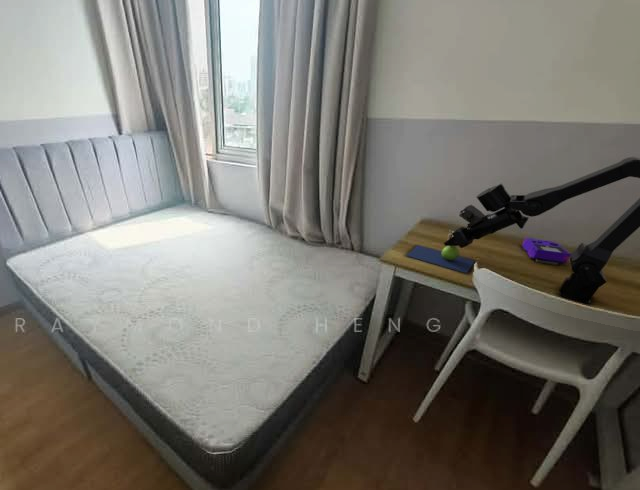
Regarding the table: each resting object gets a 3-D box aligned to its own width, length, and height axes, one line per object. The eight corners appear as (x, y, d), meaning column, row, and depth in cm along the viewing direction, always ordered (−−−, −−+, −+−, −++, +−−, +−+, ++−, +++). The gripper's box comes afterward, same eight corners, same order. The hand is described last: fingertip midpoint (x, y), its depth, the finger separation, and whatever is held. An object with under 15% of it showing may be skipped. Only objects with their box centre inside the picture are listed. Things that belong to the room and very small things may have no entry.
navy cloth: (474, 261, 113) (475, 260, 113) (466, 273, 106) (466, 272, 106) (417, 245, 125) (417, 245, 125) (406, 256, 118) (406, 255, 118)
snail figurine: (433, 258, 116) (443, 228, 109) (447, 255, 117) (458, 225, 111) (446, 264, 111) (457, 233, 105) (460, 261, 113) (471, 230, 106)
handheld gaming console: (555, 240, 118) (572, 252, 106) (549, 253, 120) (564, 266, 108) (525, 236, 121) (537, 248, 109) (519, 249, 124) (531, 261, 112)
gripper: (495, 194, 103) (450, 217, 117) (468, 205, 95) (423, 229, 108) (513, 223, 102) (465, 242, 116) (487, 237, 93) (439, 257, 107)
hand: (448, 242), depth 112 cm, fingers closed on snail figurine, 5 cm apart
